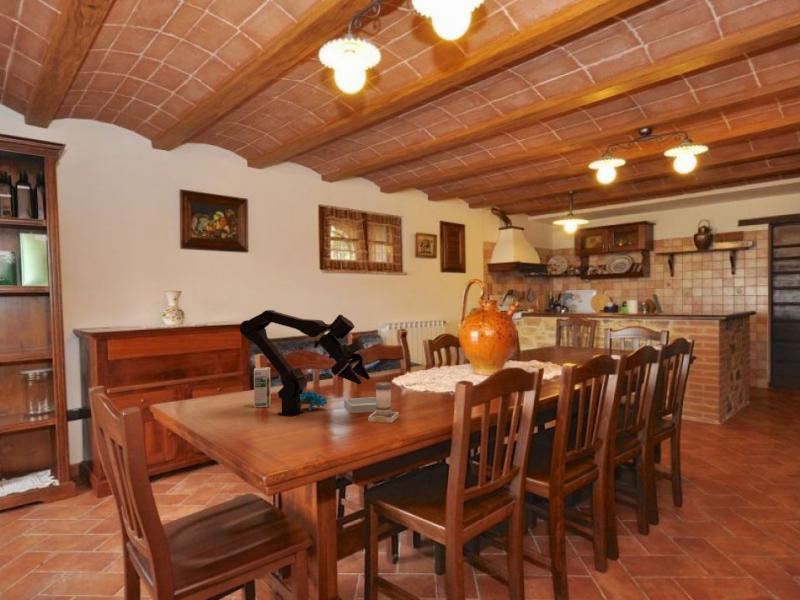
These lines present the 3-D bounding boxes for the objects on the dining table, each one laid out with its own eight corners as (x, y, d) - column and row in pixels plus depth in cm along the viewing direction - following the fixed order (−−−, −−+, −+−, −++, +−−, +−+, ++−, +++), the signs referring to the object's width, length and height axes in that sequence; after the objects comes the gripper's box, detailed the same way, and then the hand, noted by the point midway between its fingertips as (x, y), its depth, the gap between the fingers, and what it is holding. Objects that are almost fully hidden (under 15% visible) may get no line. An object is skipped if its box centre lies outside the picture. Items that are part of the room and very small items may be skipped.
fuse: (386, 421, 155) (386, 385, 155) (372, 419, 157) (372, 384, 157) (394, 418, 159) (394, 382, 159) (381, 416, 162) (380, 381, 162)
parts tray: (350, 413, 166) (350, 406, 166) (344, 405, 178) (344, 399, 178) (384, 410, 170) (384, 403, 170) (376, 403, 182) (376, 397, 182)
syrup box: (253, 408, 175) (253, 369, 175) (255, 404, 181) (255, 367, 181) (269, 407, 176) (269, 368, 176) (270, 403, 182) (270, 366, 182)
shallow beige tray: (367, 421, 154) (367, 415, 154) (376, 414, 164) (376, 409, 164) (391, 423, 152) (391, 417, 152) (399, 416, 162) (398, 410, 162)
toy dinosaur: (331, 403, 174) (320, 389, 168) (326, 418, 171) (315, 403, 164) (306, 403, 178) (294, 388, 172) (300, 417, 174) (288, 402, 168)
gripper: (339, 334, 152) (372, 368, 149) (358, 330, 170) (388, 361, 167) (317, 357, 154) (349, 392, 151) (338, 351, 172) (367, 382, 169)
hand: (365, 381), depth 160 cm, fingers open, 9 cm apart
